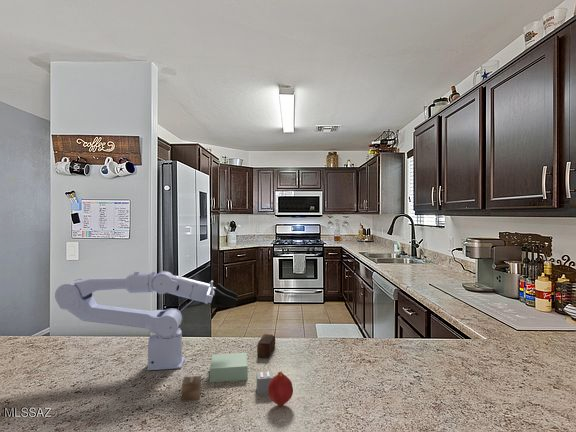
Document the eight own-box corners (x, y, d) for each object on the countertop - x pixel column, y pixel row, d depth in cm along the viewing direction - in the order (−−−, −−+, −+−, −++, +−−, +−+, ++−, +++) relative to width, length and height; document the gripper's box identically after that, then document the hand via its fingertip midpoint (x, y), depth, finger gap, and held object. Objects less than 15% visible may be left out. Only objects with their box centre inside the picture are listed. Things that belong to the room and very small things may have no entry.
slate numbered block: (257, 395, 88) (257, 378, 88) (256, 387, 92) (256, 371, 92) (273, 393, 89) (273, 377, 89) (272, 386, 93) (271, 370, 93)
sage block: (209, 383, 95) (209, 368, 95) (212, 368, 105) (212, 354, 105) (247, 381, 97) (247, 366, 97) (246, 366, 107) (246, 352, 107)
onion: (267, 399, 86) (267, 366, 86) (291, 398, 86) (291, 365, 86) (268, 413, 80) (268, 377, 80) (294, 411, 80) (294, 375, 80)
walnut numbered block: (182, 401, 86) (181, 383, 86) (184, 393, 90) (184, 376, 90) (199, 399, 86) (199, 382, 86) (200, 392, 90) (200, 375, 90)
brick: (269, 359, 111) (269, 343, 111) (257, 358, 112) (256, 343, 112) (275, 347, 122) (275, 333, 122) (264, 346, 122) (264, 332, 122)
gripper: (194, 280, 102) (240, 292, 103) (199, 273, 116) (240, 284, 118) (187, 304, 101) (233, 316, 103) (193, 294, 116) (234, 305, 117)
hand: (236, 300), depth 110 cm, fingers open, 7 cm apart
